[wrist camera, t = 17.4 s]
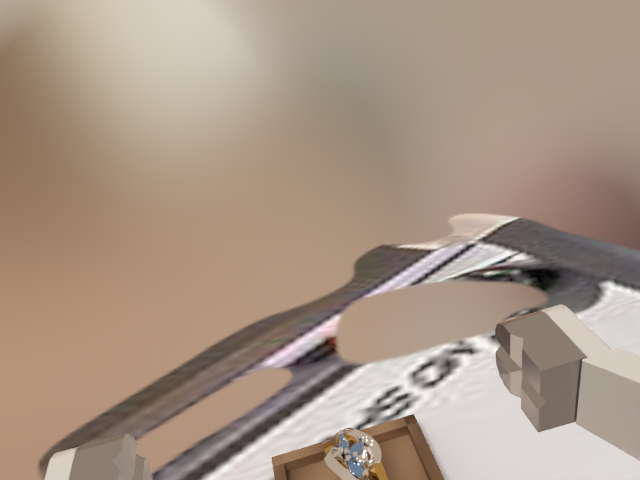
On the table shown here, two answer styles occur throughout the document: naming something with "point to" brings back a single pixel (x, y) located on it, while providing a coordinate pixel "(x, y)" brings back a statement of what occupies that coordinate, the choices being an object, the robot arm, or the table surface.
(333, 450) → the ring
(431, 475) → the tray
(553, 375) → the robot arm
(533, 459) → the table surface
